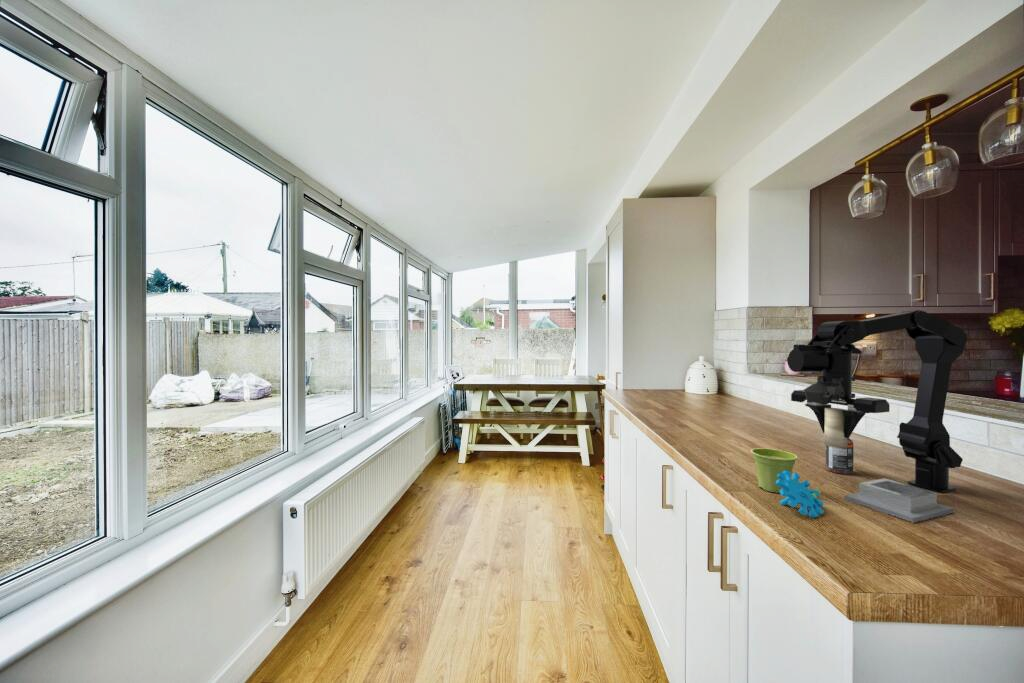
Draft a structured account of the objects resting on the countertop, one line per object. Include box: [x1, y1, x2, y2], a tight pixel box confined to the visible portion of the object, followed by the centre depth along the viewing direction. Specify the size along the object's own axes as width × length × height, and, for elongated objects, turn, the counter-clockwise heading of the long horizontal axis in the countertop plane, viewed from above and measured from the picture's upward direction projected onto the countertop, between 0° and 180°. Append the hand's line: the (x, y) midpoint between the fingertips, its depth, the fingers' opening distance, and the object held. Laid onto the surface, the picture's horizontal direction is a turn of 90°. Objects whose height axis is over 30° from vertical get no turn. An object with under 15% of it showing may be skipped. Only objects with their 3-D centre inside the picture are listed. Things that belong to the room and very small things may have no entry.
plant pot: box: [750, 447, 798, 494], centre depth 95 cm, size 9×9×9 cm
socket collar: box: [858, 478, 938, 513], centre depth 86 cm, size 9×9×3 cm
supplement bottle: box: [824, 437, 854, 475], centre depth 108 cm, size 6×6×11 cm
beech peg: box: [823, 407, 848, 448], centre depth 97 cm, size 4×4×9 cm
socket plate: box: [843, 491, 954, 523], centre depth 86 cm, size 14×12×1 cm
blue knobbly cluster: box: [776, 470, 824, 519], centre depth 85 cm, size 11×6×10 cm
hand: (835, 435), depth 97 cm, fingers closed on beech peg, 4 cm apart
